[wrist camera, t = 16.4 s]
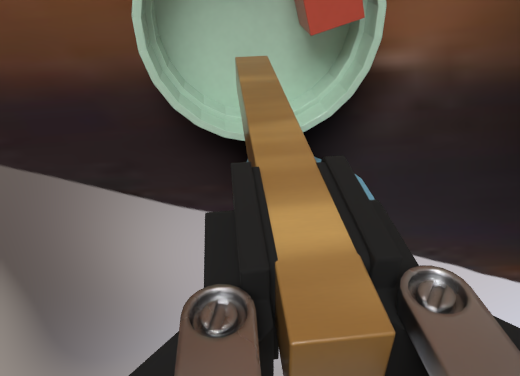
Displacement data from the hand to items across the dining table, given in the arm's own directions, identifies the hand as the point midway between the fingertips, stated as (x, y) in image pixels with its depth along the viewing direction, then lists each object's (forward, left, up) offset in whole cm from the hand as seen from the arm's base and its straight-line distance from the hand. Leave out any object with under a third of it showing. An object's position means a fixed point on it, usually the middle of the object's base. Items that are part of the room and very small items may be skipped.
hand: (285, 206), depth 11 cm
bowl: (-2, +1, -25) cm, 25 cm away
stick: (0, 0, -11) cm, 11 cm away
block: (-5, +5, -24) cm, 25 cm away
